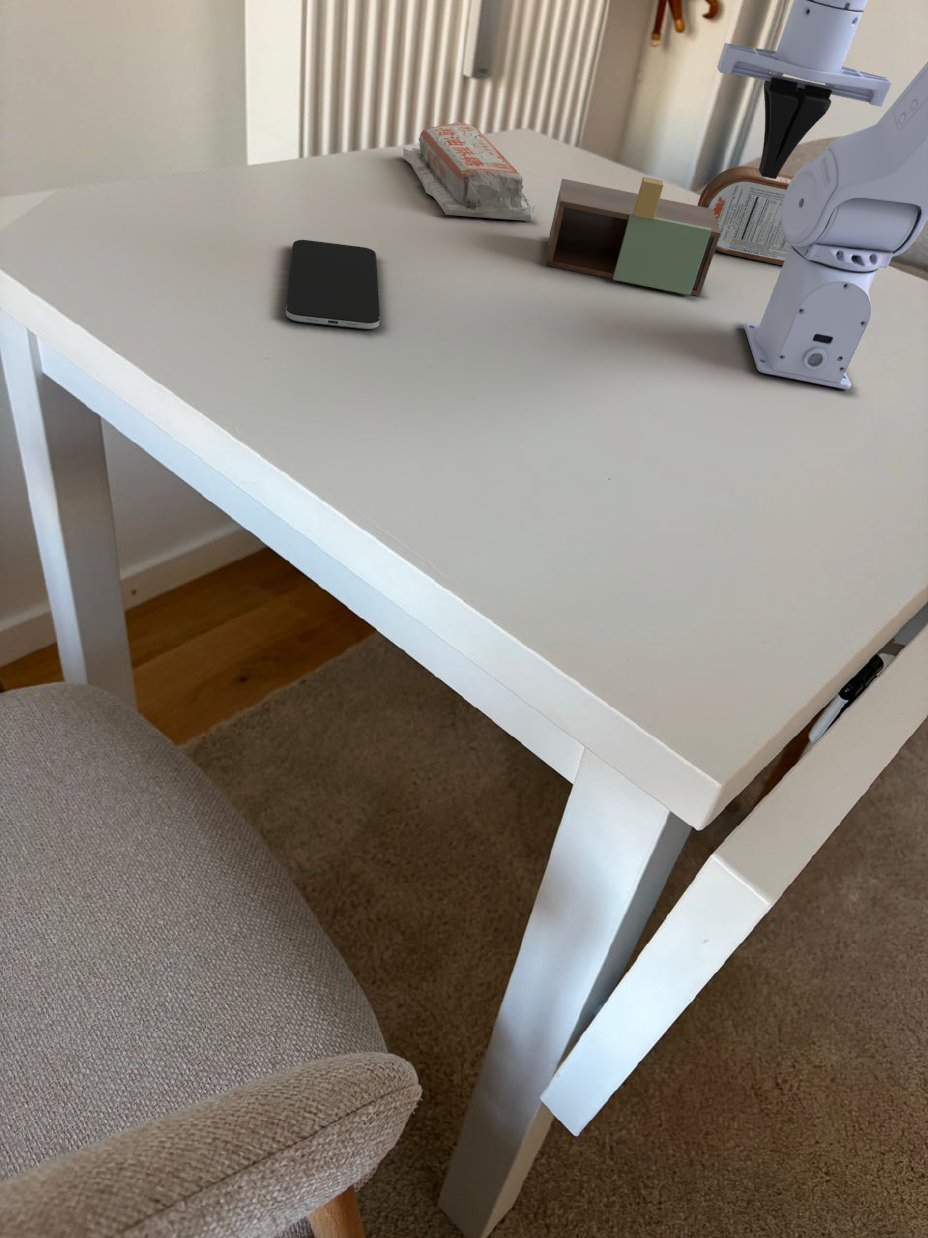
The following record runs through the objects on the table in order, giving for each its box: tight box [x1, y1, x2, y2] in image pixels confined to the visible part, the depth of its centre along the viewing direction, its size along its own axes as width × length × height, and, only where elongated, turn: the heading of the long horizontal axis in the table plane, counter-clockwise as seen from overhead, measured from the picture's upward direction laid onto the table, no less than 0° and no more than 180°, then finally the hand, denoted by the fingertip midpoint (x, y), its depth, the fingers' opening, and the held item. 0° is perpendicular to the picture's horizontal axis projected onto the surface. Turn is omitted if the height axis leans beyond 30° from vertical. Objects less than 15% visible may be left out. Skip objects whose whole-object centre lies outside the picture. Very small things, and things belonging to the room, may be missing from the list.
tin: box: [696, 165, 795, 266], centre depth 97 cm, size 15×3×8 cm, turn 84°
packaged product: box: [402, 121, 536, 222], centre depth 100 cm, size 18×5×10 cm
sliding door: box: [612, 176, 711, 296], centre depth 85 cm, size 1×8×9 cm, turn 84°
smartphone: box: [285, 239, 381, 330], centre depth 77 cm, size 7×1×15 cm
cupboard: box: [545, 178, 721, 297], centre depth 90 cm, size 7×15×6 cm, turn 84°
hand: (767, 174), depth 86 cm, fingers closed
